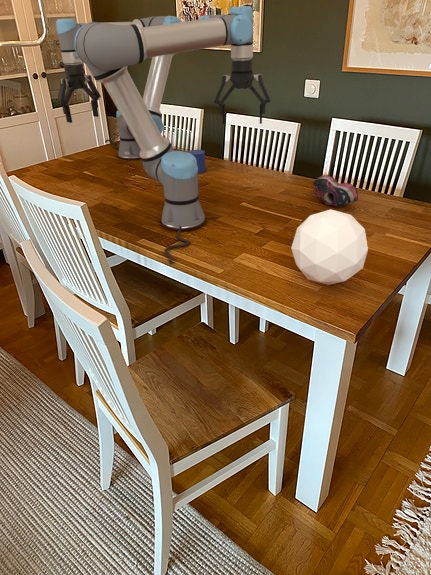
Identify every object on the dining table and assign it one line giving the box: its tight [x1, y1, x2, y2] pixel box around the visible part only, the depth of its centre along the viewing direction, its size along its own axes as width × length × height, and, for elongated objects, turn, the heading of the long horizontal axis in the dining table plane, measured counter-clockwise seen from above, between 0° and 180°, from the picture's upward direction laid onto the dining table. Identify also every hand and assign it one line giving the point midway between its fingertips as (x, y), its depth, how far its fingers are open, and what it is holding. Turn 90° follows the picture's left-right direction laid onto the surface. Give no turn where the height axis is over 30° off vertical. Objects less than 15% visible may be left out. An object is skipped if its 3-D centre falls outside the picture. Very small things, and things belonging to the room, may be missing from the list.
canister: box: [187, 149, 206, 174], centre depth 202 cm, size 7×7×9 cm
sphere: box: [290, 208, 369, 286], centre depth 117 cm, size 19×20×20 cm
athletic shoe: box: [311, 174, 359, 208], centre depth 165 cm, size 11×22×12 cm
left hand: (83, 119), depth 188 cm, fingers open, 13 cm apart
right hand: (242, 123), depth 164 cm, fingers open, 13 cm apart
